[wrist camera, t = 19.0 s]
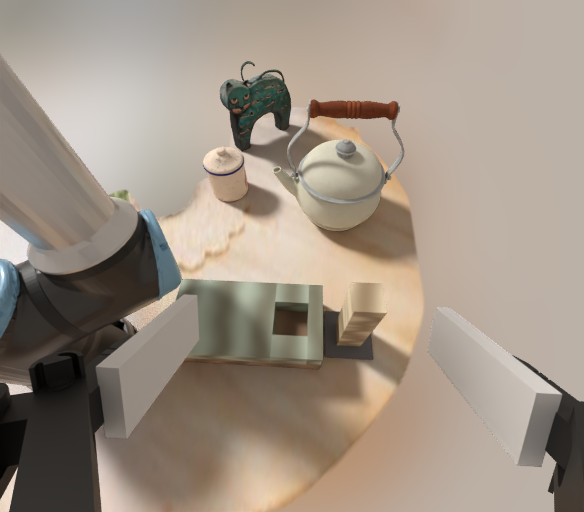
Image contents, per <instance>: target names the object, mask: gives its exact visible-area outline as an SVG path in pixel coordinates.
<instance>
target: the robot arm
mask: <svg viewBox="0 0 584 512" xmlns="http://www.w3.org/2000/svg"><path fill="white" fill-rule="evenodd" d="M0 220H1V221H3V222H4V223H5V224H6V225H8V226H9V227H10V228H12V229H13V230H14V231H15V232H17V233H18V234H19V235H20V236H22V237H23V238H24V239H26V240H27V241H28V242H29V245H28V250H27V257H28V260H27V261H25V262H22V263H20V264H17V265H13V264H12V263H11V262H9V261H8V260H5V259H0V382H3V383H0V499H1V497H2V495H3V494H4V492H5V490H6V488H7V486H8V484H9V482H10V481H11V479H12V477H13V475H14V473H15V471H16V469H17V468H18V470H17V475H16V480H15V485H14V490H13V495H12V500H11V505H10V510H9V512H102V511H101V499H100V487H99V475H98V463H97V451H96V440H95V432H96V431H97V430H98V429H99V427H100V426H101V425H102V424H104V432H105V437H106V438H121V439H127V438H128V437H129V435H130V434H131V433H132V431H133V430H134V429H135V427H136V426H137V424H138V423H139V422H140V420H141V419H142V418H143V416H144V415H145V413H146V412H147V411H148V409H149V408H150V407H151V405H152V404H153V402H154V401H155V400H156V398H157V397H158V396H159V394H160V393H161V391H162V390H163V389H164V387H165V386H166V385H167V383H168V382H169V380H170V379H171V378H172V376H173V375H174V374H175V372H176V371H177V369H178V368H179V367H180V365H181V364H182V363H183V361H184V360H185V358H186V357H187V356H188V354H189V353H190V352H191V350H192V349H193V347H194V346H195V345H196V343H197V342H198V341H199V325H198V302H197V295H187V294H184V295H182V296H181V297H180V298H179V299H177V300H176V301H175V302H174V303H173V304H171V305H170V306H169V307H168V308H167V309H165V310H164V311H163V312H162V313H160V314H159V315H158V316H157V317H156V318H154V319H153V320H152V321H151V322H150V323H148V324H147V325H146V326H145V327H143V328H142V329H141V330H140V331H139V332H137V333H136V334H135V331H134V328H133V327H132V325H131V324H130V322H129V321H127V320H126V319H125V318H124V317H126V316H128V315H130V314H132V313H134V312H136V311H138V310H139V309H141V308H143V307H145V306H147V305H149V304H151V303H153V302H155V301H157V300H160V299H161V298H162V297H163V296H164V295H166V294H168V293H169V292H171V291H173V290H174V289H176V288H177V287H178V286H179V285H180V283H181V280H182V277H181V273H180V270H179V268H178V265H177V263H176V261H175V258H174V256H173V254H172V252H171V250H170V248H169V246H168V243H167V241H166V239H165V236H164V234H163V232H162V230H161V228H160V226H159V224H158V222H157V220H156V218H155V216H154V214H153V212H152V211H150V210H144V211H143V210H140V211H139V212H137V211H136V209H135V208H134V207H133V206H132V205H131V204H130V203H129V202H128V201H126V200H124V199H120V198H115V197H109V196H108V195H107V193H106V192H105V191H104V189H103V188H102V187H101V185H100V184H99V183H98V181H97V180H96V179H95V178H94V176H93V175H92V174H91V172H90V171H89V170H88V168H87V167H86V166H85V164H84V163H83V162H82V161H81V159H80V158H79V157H78V155H77V154H76V153H75V151H74V150H73V149H72V147H71V146H70V145H69V143H68V142H67V141H66V139H65V138H64V137H63V136H62V134H61V133H60V132H59V131H58V129H57V128H56V126H55V125H54V124H53V122H52V121H51V120H50V119H49V117H48V116H47V115H46V114H45V112H44V111H43V109H42V108H41V107H40V106H39V104H38V103H37V101H36V100H35V99H34V98H33V96H32V95H31V94H30V92H29V91H28V90H27V88H26V87H25V86H24V84H23V83H22V82H21V80H20V79H19V78H18V76H17V75H16V74H15V73H14V72H13V70H12V69H11V67H10V66H9V65H8V64H7V62H6V61H5V60H4V58H3V57H2V56H1V54H0ZM428 353H429V354H430V356H431V357H432V358H433V360H434V361H435V362H436V363H437V365H438V366H439V367H440V368H441V370H442V371H443V372H444V373H445V375H446V376H447V377H448V378H449V380H450V381H451V382H452V384H453V385H454V386H455V387H456V389H457V390H458V391H459V392H460V394H461V395H462V396H463V397H464V399H465V400H466V401H467V402H468V404H469V405H470V406H471V408H472V409H473V410H474V411H475V413H476V414H477V415H478V416H479V418H480V419H481V420H482V421H483V423H484V424H485V425H486V426H487V428H488V429H489V430H490V432H491V433H492V434H493V435H494V437H495V438H496V439H497V440H498V441H499V443H500V444H501V445H502V447H503V448H504V449H505V450H506V452H507V453H508V454H509V455H510V457H511V458H512V459H513V461H514V462H515V463H516V464H517V465H520V466H534V467H541V466H542V463H543V459H544V456H545V452H548V454H549V455H550V456H551V457H552V458H553V459H554V460H555V461H556V462H557V463H556V466H555V470H554V473H553V476H552V479H551V482H550V486H549V489H548V492H550V493H552V494H553V492H554V506H555V507H554V509H555V512H584V402H582V401H581V402H579V401H578V400H576V399H575V398H574V397H572V396H571V395H570V394H568V393H567V392H566V391H564V390H563V389H562V388H560V387H559V386H558V385H556V384H555V383H554V382H552V381H551V380H548V378H547V377H546V376H544V375H543V374H542V373H539V372H538V371H537V370H536V369H535V368H534V367H532V366H531V365H530V364H528V363H527V362H525V361H523V360H521V359H519V358H517V357H515V356H513V355H511V354H509V353H508V352H507V351H505V350H504V349H503V348H501V347H500V346H499V345H498V344H496V343H495V342H494V341H492V340H491V339H490V338H488V337H487V336H486V335H485V334H483V333H482V332H481V331H479V330H478V329H477V328H475V327H474V326H473V325H472V324H470V323H469V322H468V321H466V320H465V319H464V318H462V317H461V316H460V315H459V314H457V313H456V312H454V311H453V310H452V309H450V308H449V307H435V310H434V316H433V322H432V328H431V335H430V341H429V347H428ZM6 383H10V384H17V385H25V386H27V387H28V388H29V389H31V390H32V391H33V392H30V393H23V394H16V395H10V393H9V388H8V386H7V385H6Z"/></svg>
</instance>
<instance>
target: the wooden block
mask: <svg viewBox="0 0 584 512" xmlns="http://www.w3.org/2000/svg"><path fill="white" fill-rule="evenodd" d="M386 314H387V309H386V302H385V295H384V288H383V284H378V283H356V282H352V284H351V286H350V289H349V291H348V294H347V296H346V299H345V301H344V304H343V306H342V309H341V311H340V314H339V316H338V319H337V321H336V339H337V345H340V346H358V347H360V346H361V345H362V344H363V342H364V341H365V340H366V339H367V337H368V336H369V335H370V334H371V332H372V331H373V330H374V329H375V327H376V326H377V325H378V324H379V322H380V321H381V320H382V319H383V317H384V316H385V315H386Z"/></svg>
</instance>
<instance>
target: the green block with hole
mask: <svg viewBox="0 0 584 512" xmlns="http://www.w3.org/2000/svg"><path fill="white" fill-rule="evenodd" d="M184 294H187V295H197V302H198V325H199V341H198V342H197V343H196V345H195V346H194V347H193V349H192V350H191V352H190V353H189V354H188V356H187V357H186V358H185V360H184V361H187V362H204V363H221V364H239V365H256V366H273V367H290V368H308V369H319V368H320V366H321V364H322V361H323V286H321V285H300V284H279V283H258V282H237V281H216V280H195V279H182V282H181V285H180V288H179V291H178V295H177V298H176V300H177V299H179V298H180V297H181V296H182V295H184Z"/></svg>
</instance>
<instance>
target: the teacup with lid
mask: <svg viewBox="0 0 584 512" xmlns="http://www.w3.org/2000/svg"><path fill="white" fill-rule="evenodd" d="M203 166H204V169H205V170H206V172H207V175H208V178H209V181H210V184H211V187H212V190H213V193H214V195H215V196H216V197H217V198H218V199H220V200H222V201H227V202H231V201H236V200H239V199H241V198H242V197H243V196H244V195H245V194H246V193H247V191H248V183H247V178H246V173H245V167H244V157H243V155H242V154H241V153H240V152H239V151H238V150H236V149H234V148H231V147H219V148H217V149H214V150H212V151H210V152H209V153H208V154H207V155H206V156H205V158H204V160H203Z"/></svg>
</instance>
